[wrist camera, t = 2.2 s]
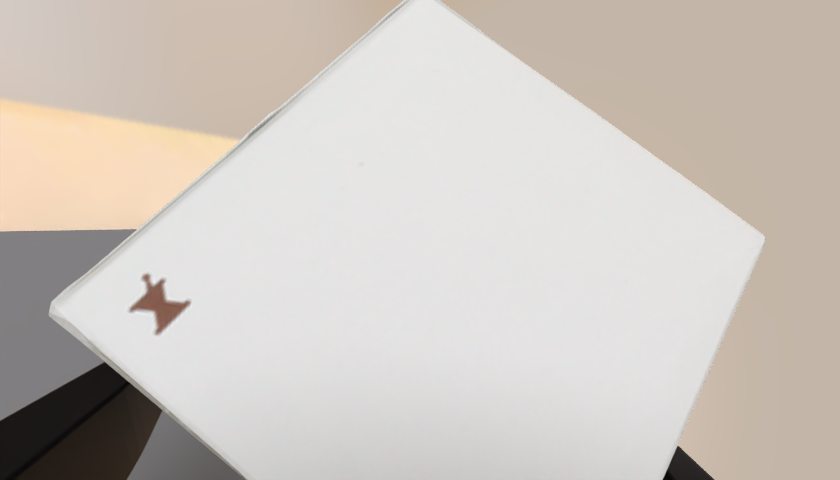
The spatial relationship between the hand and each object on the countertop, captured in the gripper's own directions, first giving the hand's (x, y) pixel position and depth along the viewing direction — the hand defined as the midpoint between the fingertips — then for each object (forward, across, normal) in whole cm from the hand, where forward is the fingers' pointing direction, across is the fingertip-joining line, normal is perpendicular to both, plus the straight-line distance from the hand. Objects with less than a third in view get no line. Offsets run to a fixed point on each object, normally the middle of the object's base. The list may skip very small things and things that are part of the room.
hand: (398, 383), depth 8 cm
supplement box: (+7, 0, +6) cm, 9 cm away
